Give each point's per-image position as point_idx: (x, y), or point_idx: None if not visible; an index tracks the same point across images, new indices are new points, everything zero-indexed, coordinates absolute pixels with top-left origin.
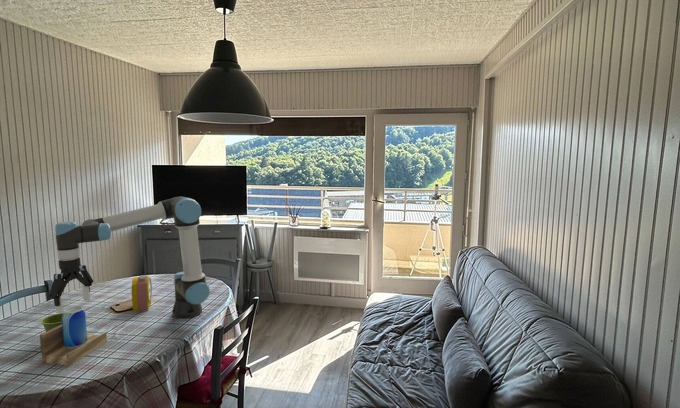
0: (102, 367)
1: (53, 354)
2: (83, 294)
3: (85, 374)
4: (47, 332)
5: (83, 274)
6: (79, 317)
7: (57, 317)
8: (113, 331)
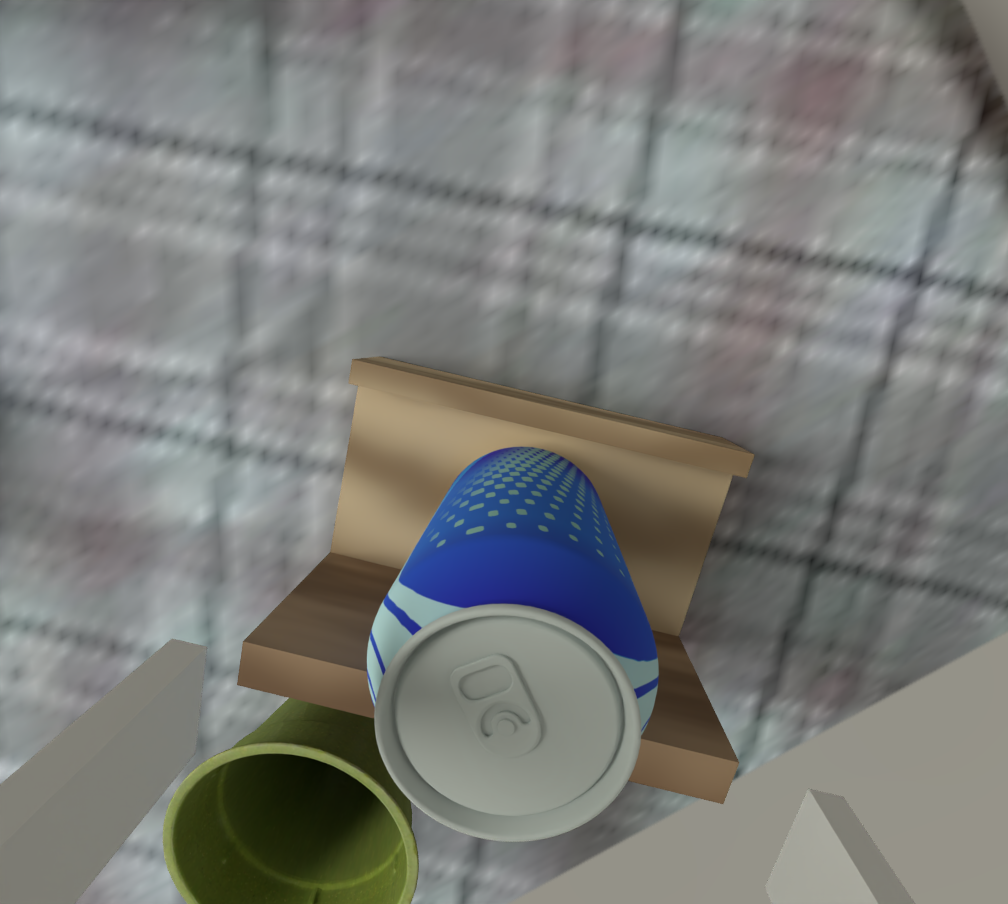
0: (791, 168)
1: (659, 598)
2: (89, 871)
3: (877, 246)
4: (672, 765)
5: None
6: (589, 553)
7: (222, 871)
8: (198, 402)
